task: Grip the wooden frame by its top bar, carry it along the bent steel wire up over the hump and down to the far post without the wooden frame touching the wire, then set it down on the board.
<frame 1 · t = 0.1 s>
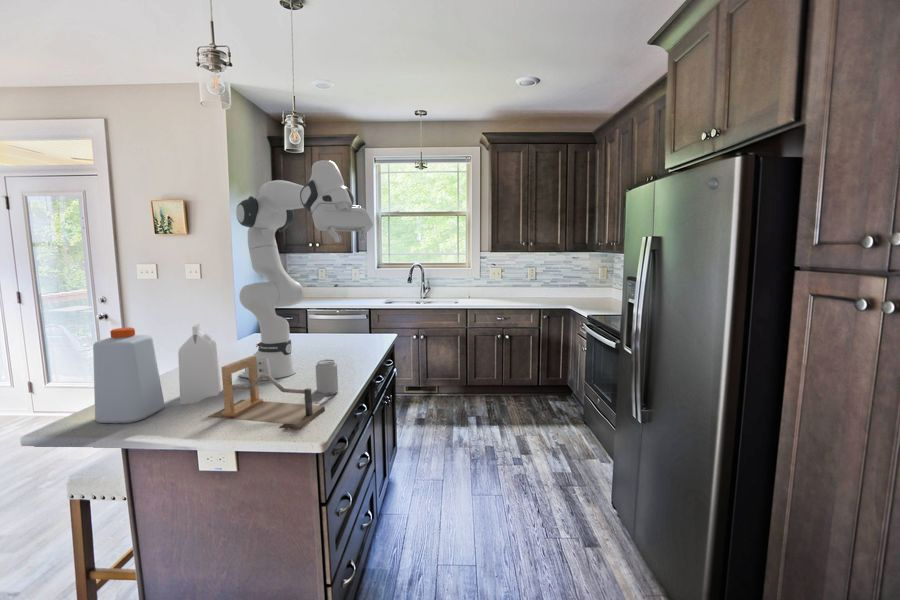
hand: (351, 241, 136), 54 cm above the counter, tool tilted 30°, fingers open, 8 cm apart
can: (327, 393, 155), on the counter
wooden frame: (243, 409, 137), point 1 cm above the counter, touching buzz board
plastic bottle: (131, 415, 137), on the counter
milk: (202, 397, 153), on the counter
buzz board: (268, 415, 135), on the counter
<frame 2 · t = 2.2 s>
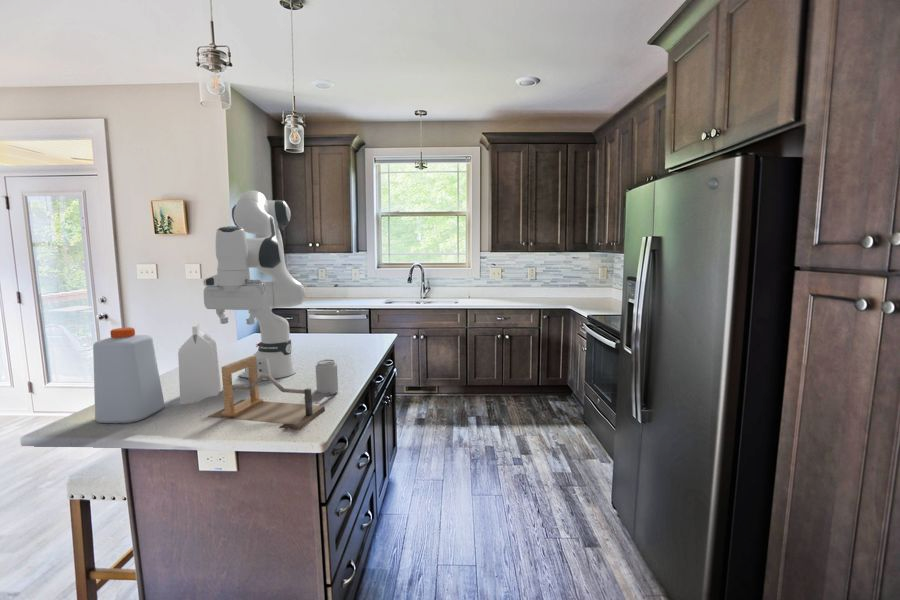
hand: (237, 323, 133), 29 cm above the counter, tool pointing down, fingers open, 8 cm apart
nothing on the counter moved.
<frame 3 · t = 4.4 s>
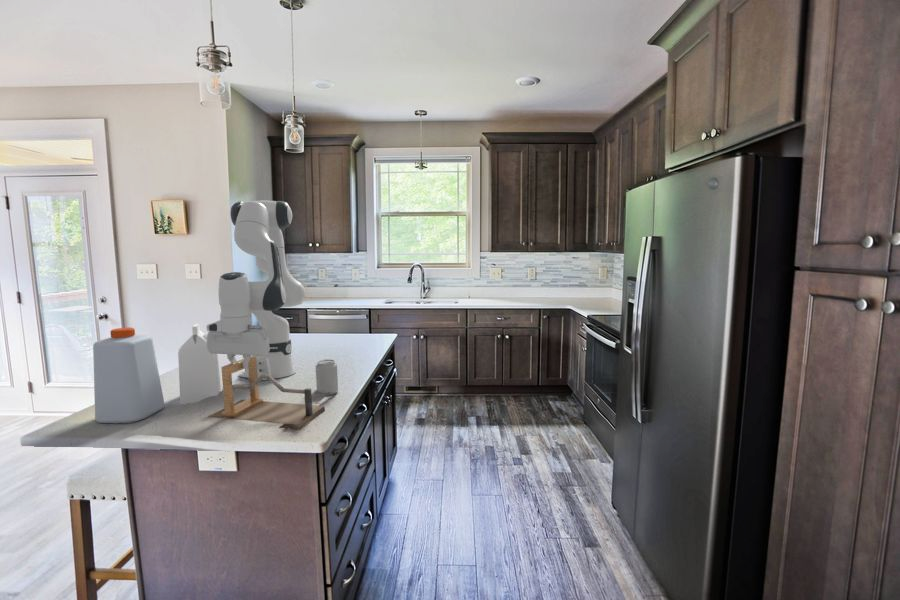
hand: (240, 367, 135), 15 cm above the counter, tool pointing down, fingers closed on wooden frame
wooden frame: (243, 409, 137), point 2 cm above the counter, touching buzz board, gripper
everything else where it was.
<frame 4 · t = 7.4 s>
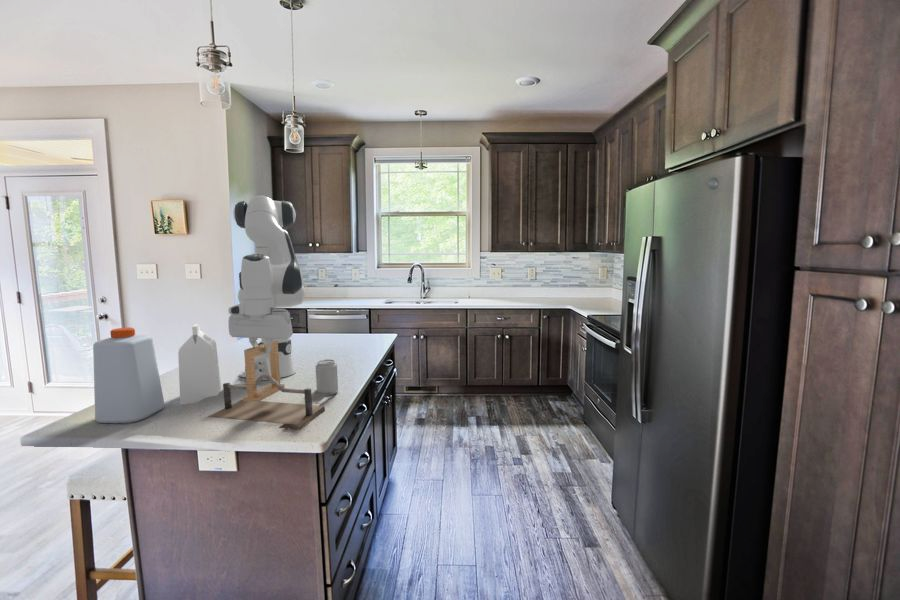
hand: (262, 351, 132), 21 cm above the counter, tool pointing down, fingers closed on wooden frame
wooden frame: (264, 394, 134), point 7 cm above the counter, touching gripper
everything else where it was.
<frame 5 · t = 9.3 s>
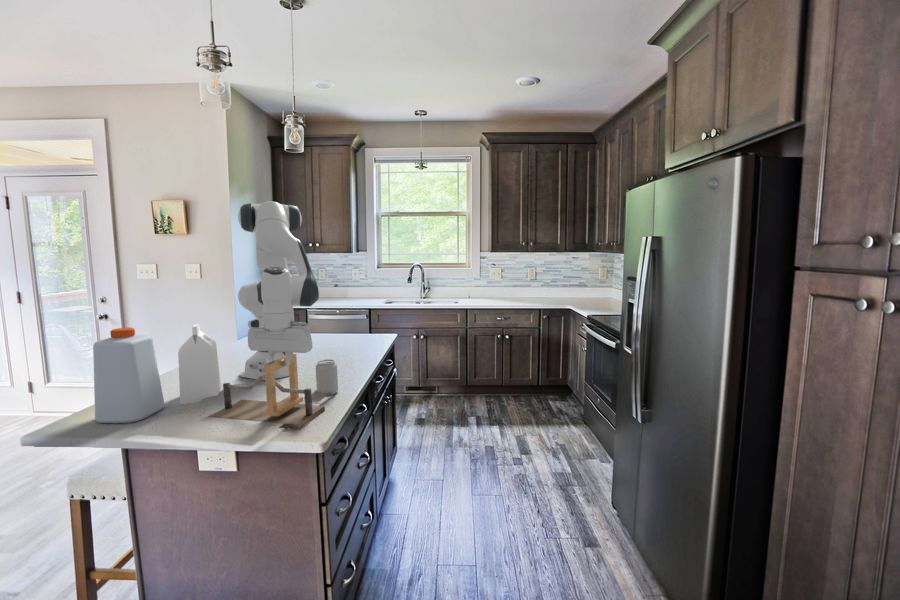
hand: (281, 365, 131), 17 cm above the counter, tool pointing down, fingers closed on wooden frame
wooden frame: (284, 407, 133), point 3 cm above the counter, touching gripper
everything else where it was.
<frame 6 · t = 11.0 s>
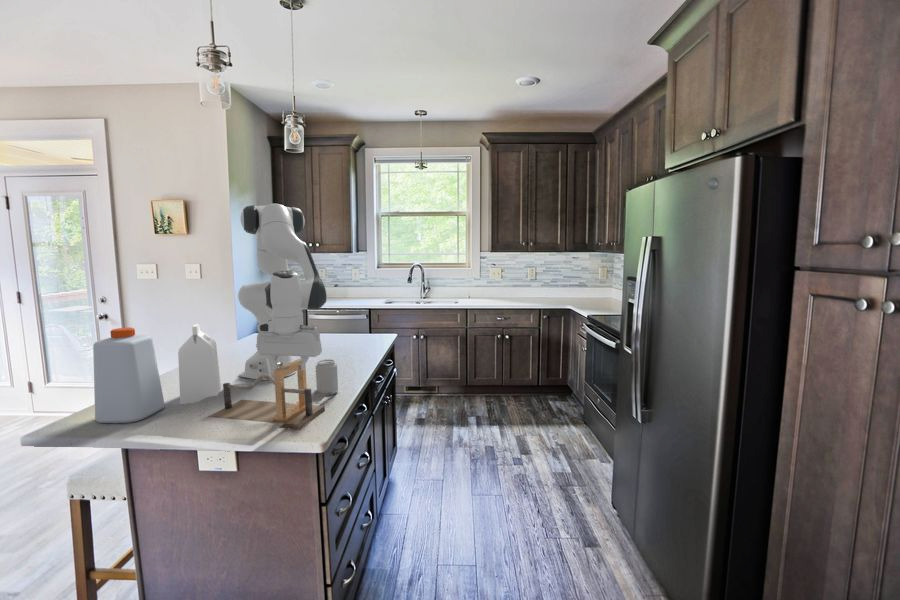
hand: (290, 369, 131), 15 cm above the counter, tool pointing down, fingers open, 6 cm apart
wooden frame: (293, 413, 133), point 1 cm above the counter, touching buzz board
everything else where it was.
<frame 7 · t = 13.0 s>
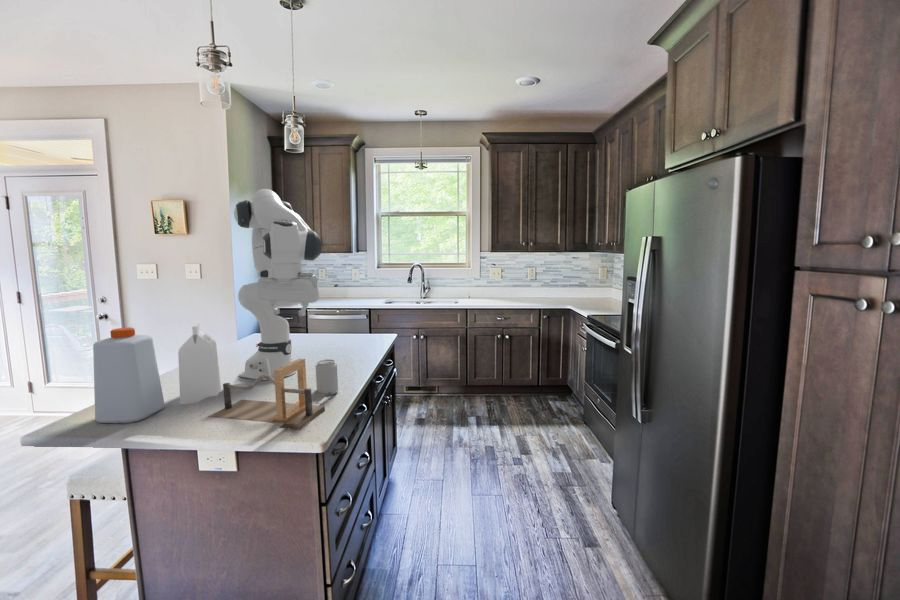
hand: (289, 315, 138), 31 cm above the counter, tool pointing down, fingers open, 8 cm apart
nothing on the counter moved.
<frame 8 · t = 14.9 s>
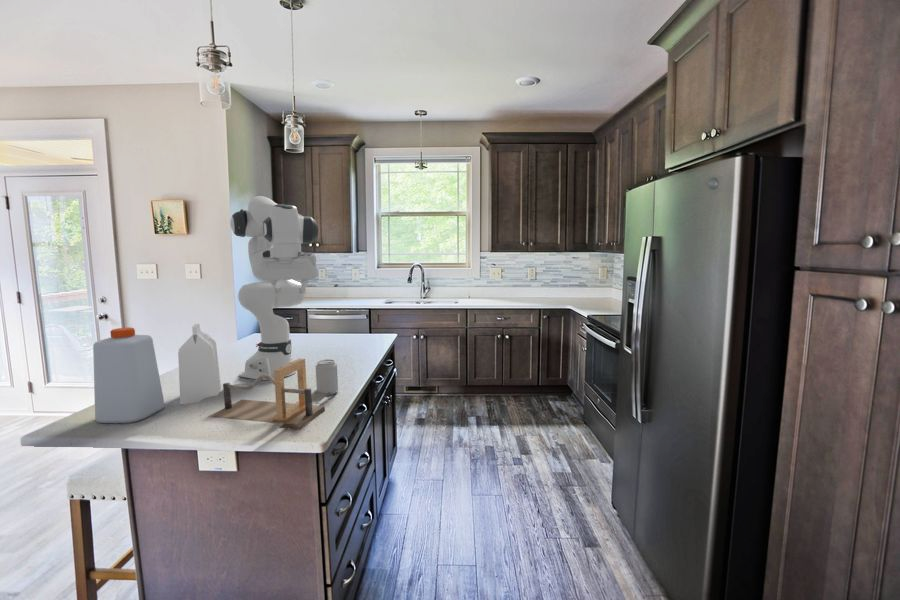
hand: (289, 293, 147), 37 cm above the counter, tool pointing down, fingers open, 8 cm apart
nothing on the counter moved.
at the end: wooden frame 0.3 cm from the target spot on the buzz board, point 1.5 cm above the buzz board's base; wooden frame tilted 0°; the gripper is holding nothing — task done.
